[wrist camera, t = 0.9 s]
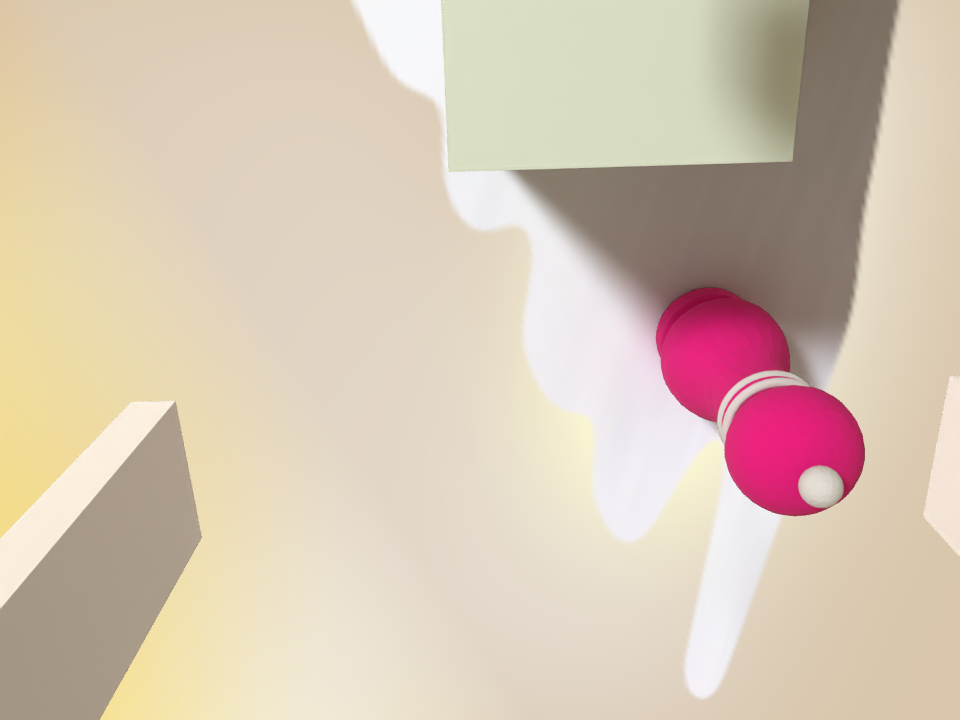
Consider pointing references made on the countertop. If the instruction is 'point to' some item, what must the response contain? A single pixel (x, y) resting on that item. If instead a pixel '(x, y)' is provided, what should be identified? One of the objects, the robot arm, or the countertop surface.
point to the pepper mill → (759, 403)
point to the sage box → (621, 82)
